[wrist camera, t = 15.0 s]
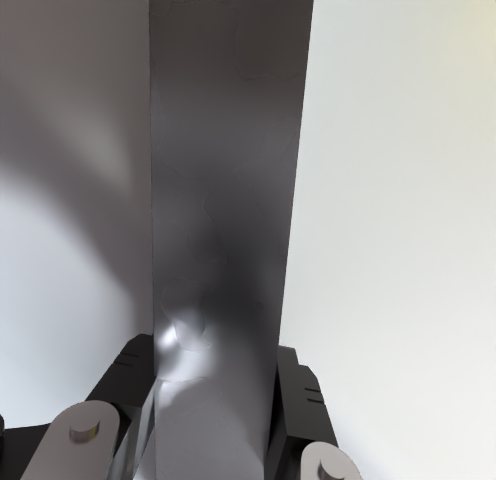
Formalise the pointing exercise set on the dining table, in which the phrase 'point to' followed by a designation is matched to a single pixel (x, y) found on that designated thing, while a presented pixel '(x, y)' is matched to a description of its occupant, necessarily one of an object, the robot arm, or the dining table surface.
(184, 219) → the crook tool
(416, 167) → the dining table surface
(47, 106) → the dining table surface
